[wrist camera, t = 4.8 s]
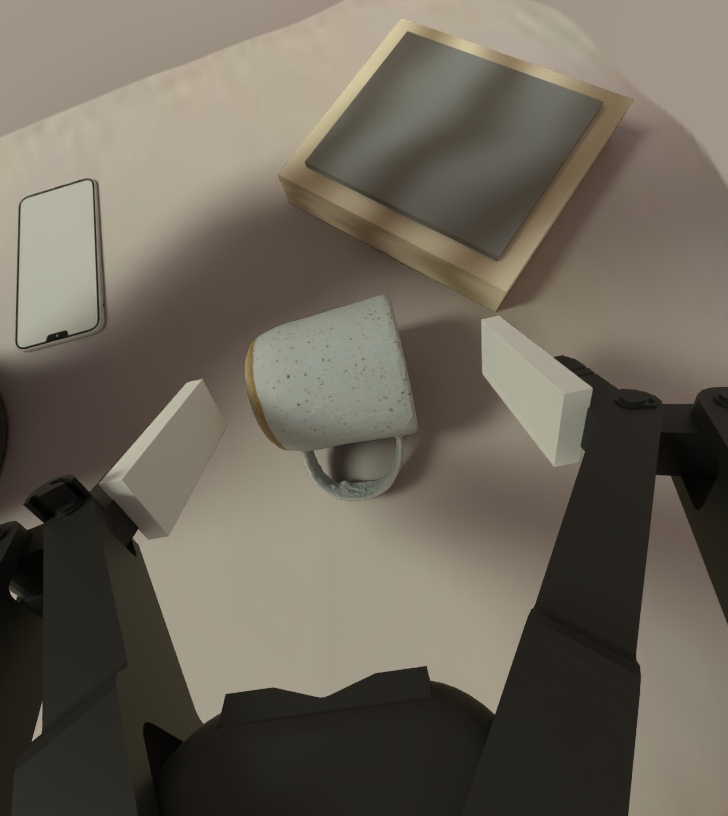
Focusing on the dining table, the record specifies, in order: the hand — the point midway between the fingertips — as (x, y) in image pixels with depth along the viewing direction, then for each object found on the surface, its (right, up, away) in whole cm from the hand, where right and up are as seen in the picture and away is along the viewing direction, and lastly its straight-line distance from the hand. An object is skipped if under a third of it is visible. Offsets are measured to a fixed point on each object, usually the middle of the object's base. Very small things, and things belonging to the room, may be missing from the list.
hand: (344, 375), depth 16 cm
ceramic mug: (0, -2, +7) cm, 7 cm away
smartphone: (-24, +11, +12) cm, 29 cm away
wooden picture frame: (+7, +16, +9) cm, 20 cm away
